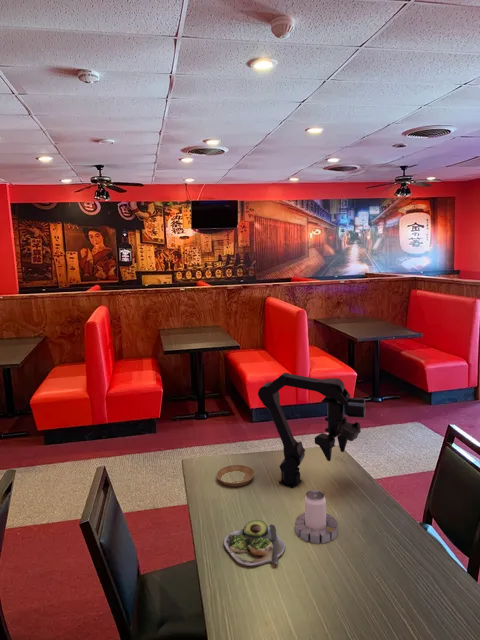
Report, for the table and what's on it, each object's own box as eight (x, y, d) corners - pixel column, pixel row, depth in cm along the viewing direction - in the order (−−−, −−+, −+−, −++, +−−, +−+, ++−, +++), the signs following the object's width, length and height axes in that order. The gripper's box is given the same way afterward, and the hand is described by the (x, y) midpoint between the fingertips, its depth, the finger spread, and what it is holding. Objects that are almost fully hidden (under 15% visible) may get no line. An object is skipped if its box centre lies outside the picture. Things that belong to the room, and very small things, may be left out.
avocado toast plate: (301, 560, 133) (301, 545, 132) (244, 580, 125) (244, 565, 125) (269, 524, 150) (268, 511, 149) (218, 541, 143) (217, 527, 142)
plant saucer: (208, 481, 179) (208, 475, 179) (234, 467, 190) (233, 461, 190) (237, 493, 169) (237, 487, 169) (262, 477, 180) (262, 471, 180)
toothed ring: (287, 532, 145) (286, 523, 145) (310, 513, 155) (310, 506, 154) (322, 549, 137) (322, 540, 136) (345, 528, 146) (345, 520, 146)
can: (325, 524, 149) (325, 489, 147) (326, 536, 142) (326, 500, 140) (304, 523, 149) (304, 489, 147) (305, 536, 143) (304, 500, 141)
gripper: (342, 428, 152) (342, 472, 155) (369, 412, 166) (368, 453, 168) (313, 420, 160) (314, 463, 162) (341, 405, 173) (341, 445, 176)
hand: (335, 456), depth 167 cm, fingers open, 9 cm apart
